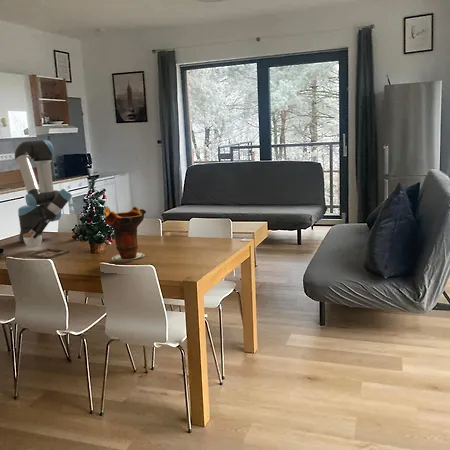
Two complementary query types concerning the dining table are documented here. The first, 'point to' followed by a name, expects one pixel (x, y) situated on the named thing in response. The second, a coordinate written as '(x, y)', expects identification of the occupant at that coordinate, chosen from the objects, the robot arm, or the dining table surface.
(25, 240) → the lidded jar
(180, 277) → the dining table surface
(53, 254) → the walnut frame
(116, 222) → the decorative vase
